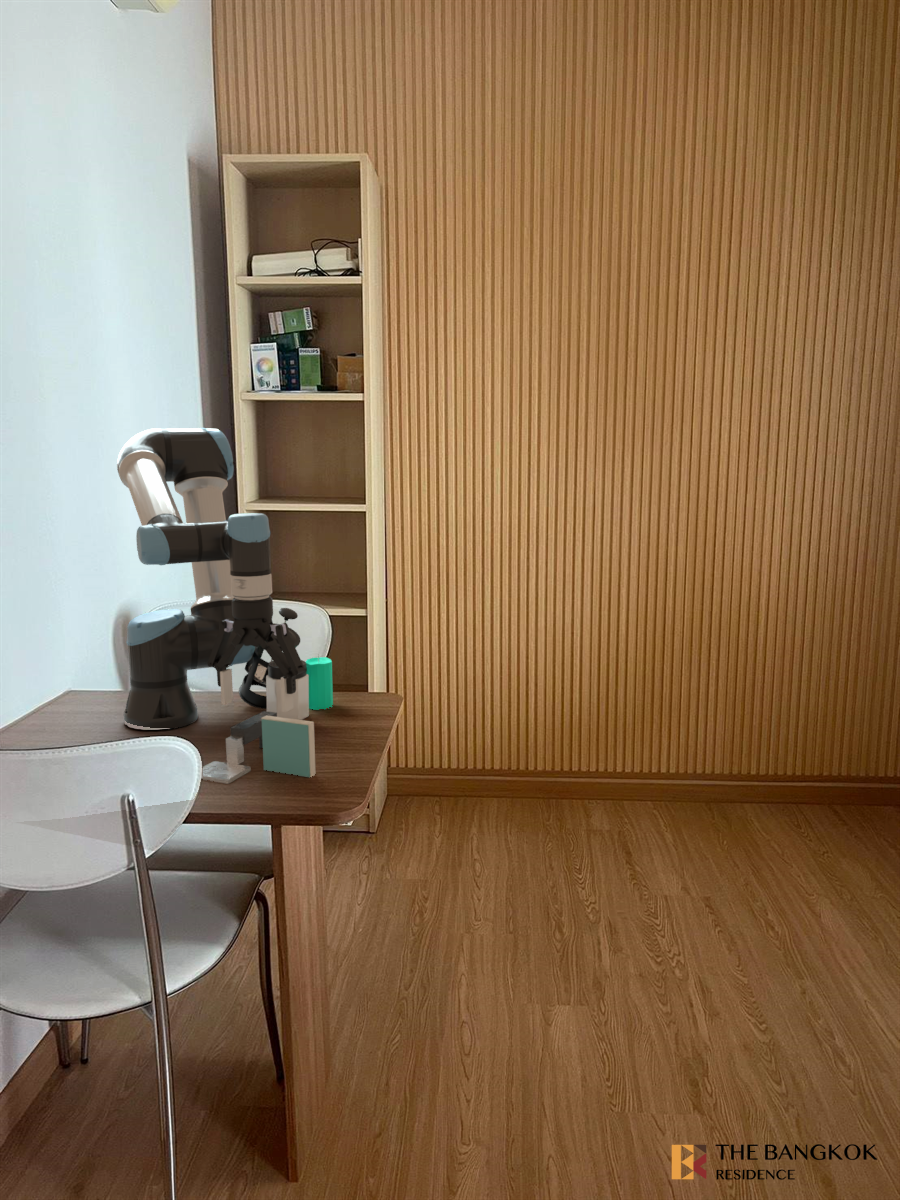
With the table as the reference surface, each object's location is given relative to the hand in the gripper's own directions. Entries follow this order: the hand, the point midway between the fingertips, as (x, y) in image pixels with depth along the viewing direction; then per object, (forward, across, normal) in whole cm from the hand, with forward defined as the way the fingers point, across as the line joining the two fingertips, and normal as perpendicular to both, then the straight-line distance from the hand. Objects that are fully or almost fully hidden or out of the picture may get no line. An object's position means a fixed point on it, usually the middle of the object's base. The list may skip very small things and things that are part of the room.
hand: (257, 706), depth 183 cm
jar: (+9, -8, +22) cm, 25 cm away
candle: (+9, -6, +32) cm, 34 cm away
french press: (+7, -19, +28) cm, 34 cm away
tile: (+10, +10, -6) cm, 16 cm away
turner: (+10, 0, -5) cm, 11 cm away
